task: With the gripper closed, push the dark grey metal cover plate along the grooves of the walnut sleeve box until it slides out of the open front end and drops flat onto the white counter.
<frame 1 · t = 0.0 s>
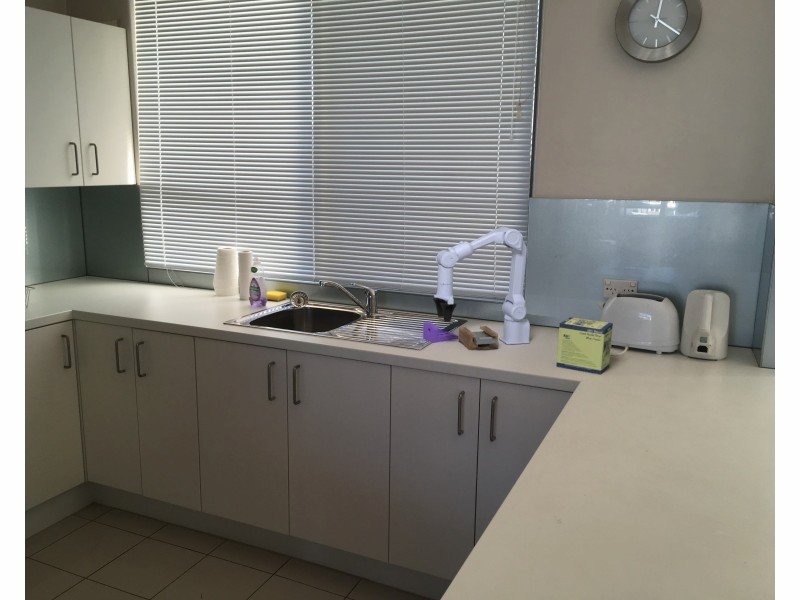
hand: (444, 319, 251), 10 cm above the worktop, fingers open, 7 cm apart
cover plate: (480, 339, 251), point 3 cm above the worktop, touching sleeve box
bracket: (440, 340, 263), on the worktop
protein box: (582, 367, 231), on the worktop
sleeve box: (477, 345, 255), on the worktop
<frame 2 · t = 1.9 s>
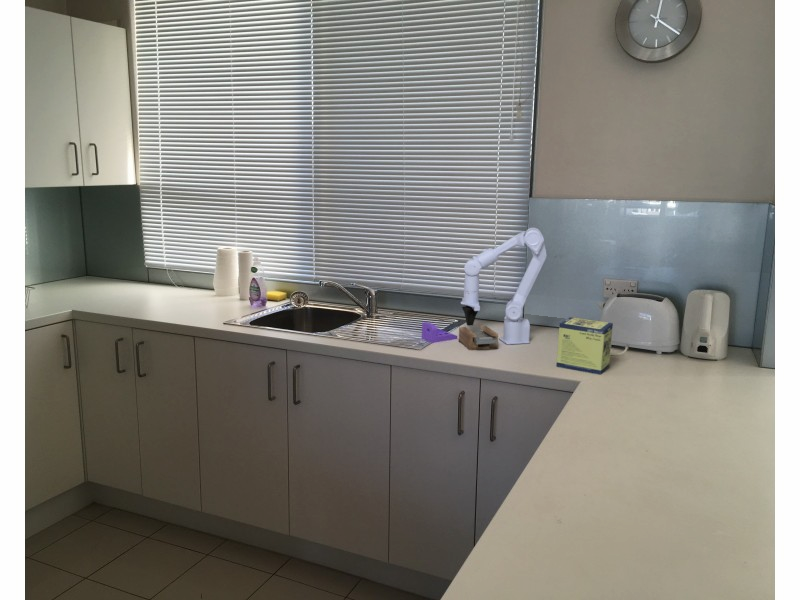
hand: (469, 325, 262), 5 cm above the worktop, fingers closed
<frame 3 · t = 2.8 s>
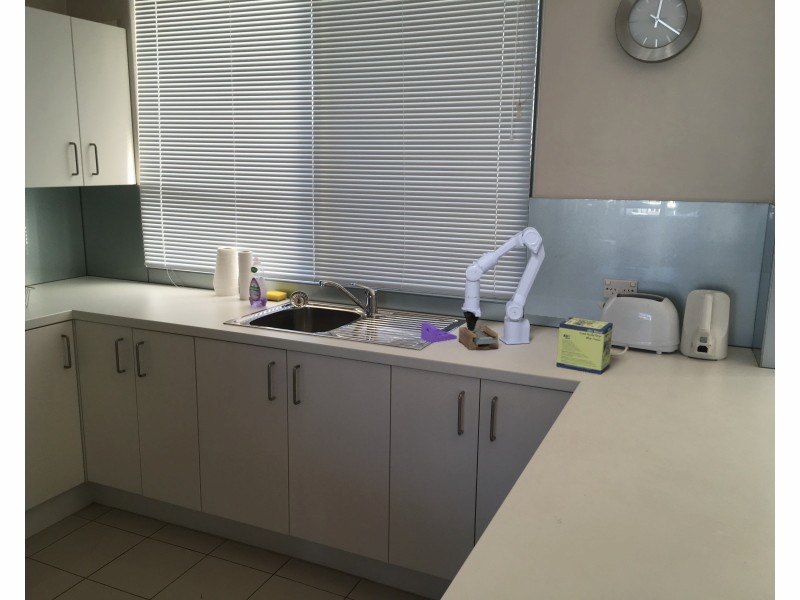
hand: (471, 330, 261), 4 cm above the worktop, fingers closed
nothing on the worktop moved.
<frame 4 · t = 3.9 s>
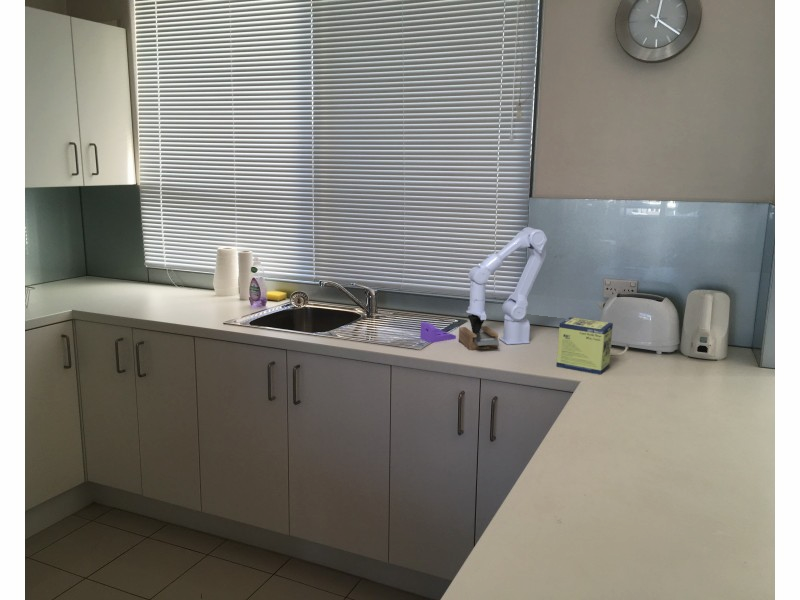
hand: (475, 334, 256), 4 cm above the worktop, fingers closed
cover plate: (482, 340, 250), point 3 cm above the worktop, touching gripper, sleeve box
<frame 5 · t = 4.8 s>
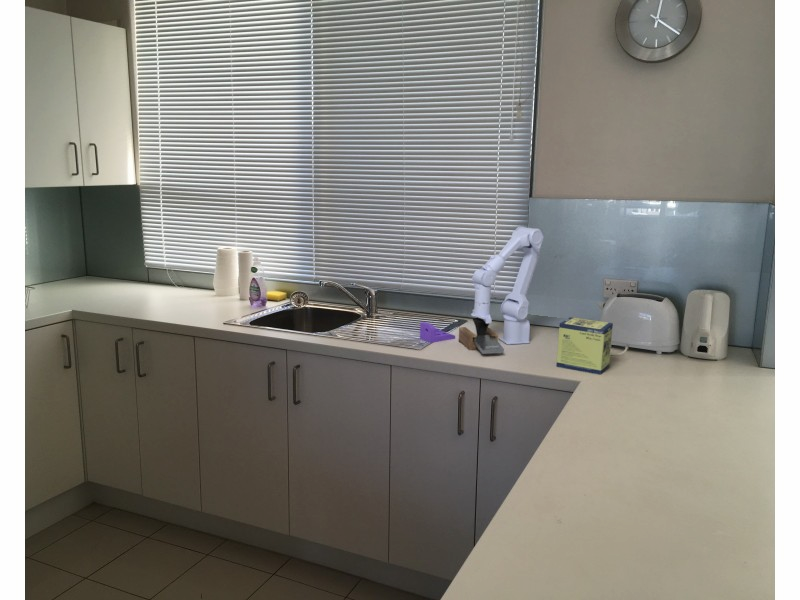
hand: (480, 337, 251), 4 cm above the worktop, fingers closed
cover plate: (487, 345, 245), point 2 cm above the worktop, tilted 10°, touching gripper, sleeve box
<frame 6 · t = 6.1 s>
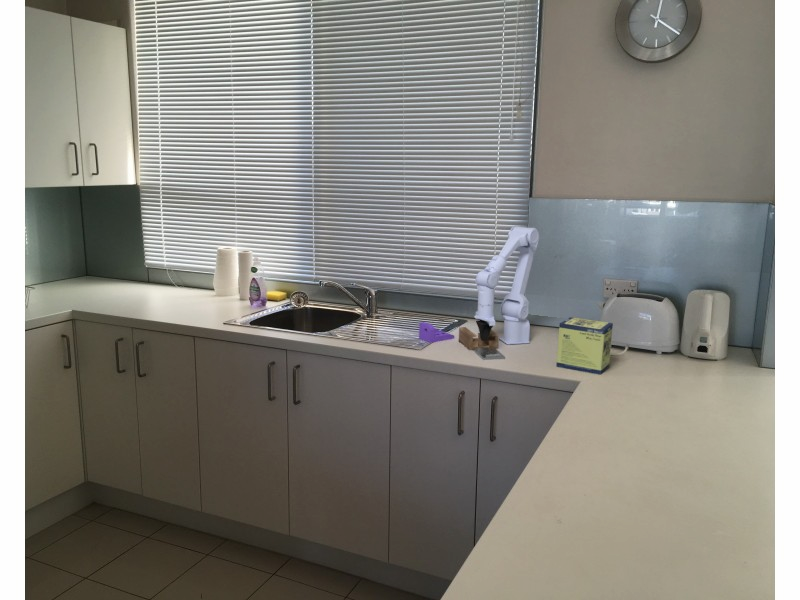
hand: (484, 340, 248), 4 cm above the worktop, fingers closed
cover plate: (488, 355, 243), on the worktop
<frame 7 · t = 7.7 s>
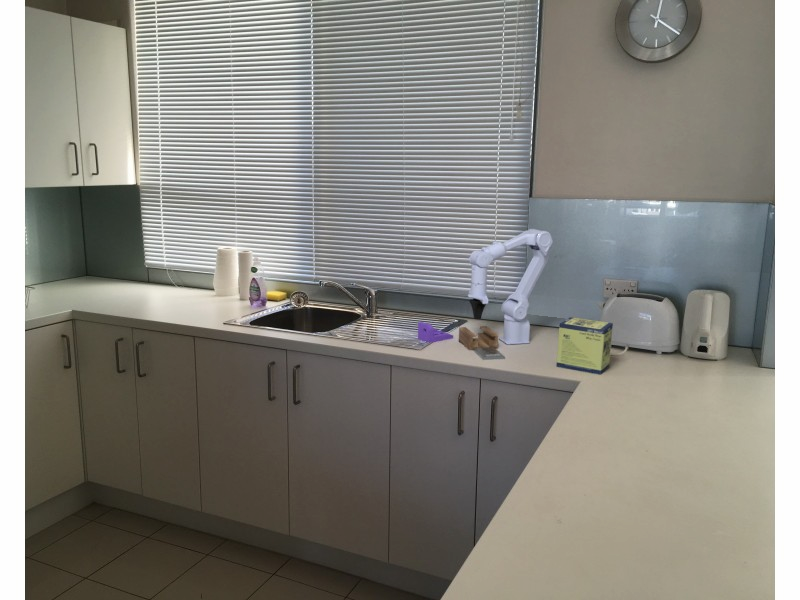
hand: (477, 318, 253), 10 cm above the worktop, fingers closed
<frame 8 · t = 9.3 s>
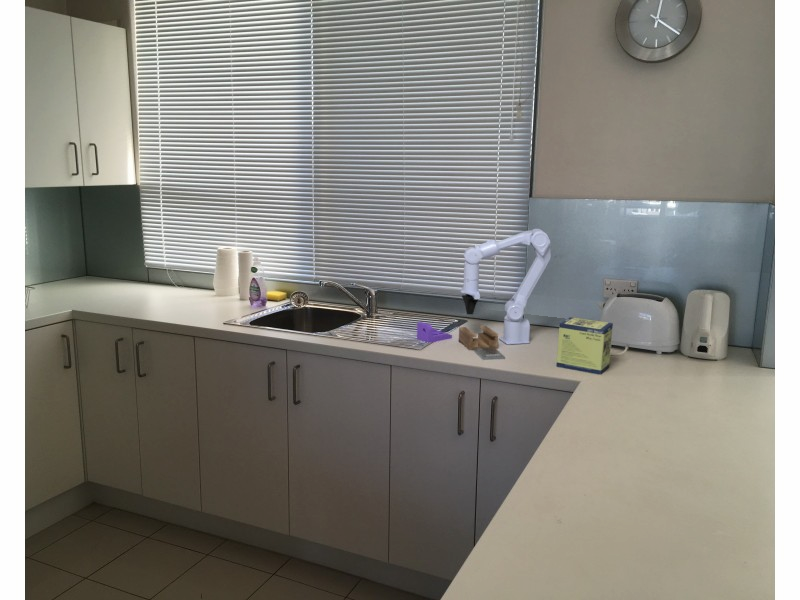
hand: (469, 314, 259), 10 cm above the worktop, fingers closed
at the end: cover plate inside the target area (5.7 cm from its centre), on the worktop; cover plate tilted 0°; cover plate touching worktop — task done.
